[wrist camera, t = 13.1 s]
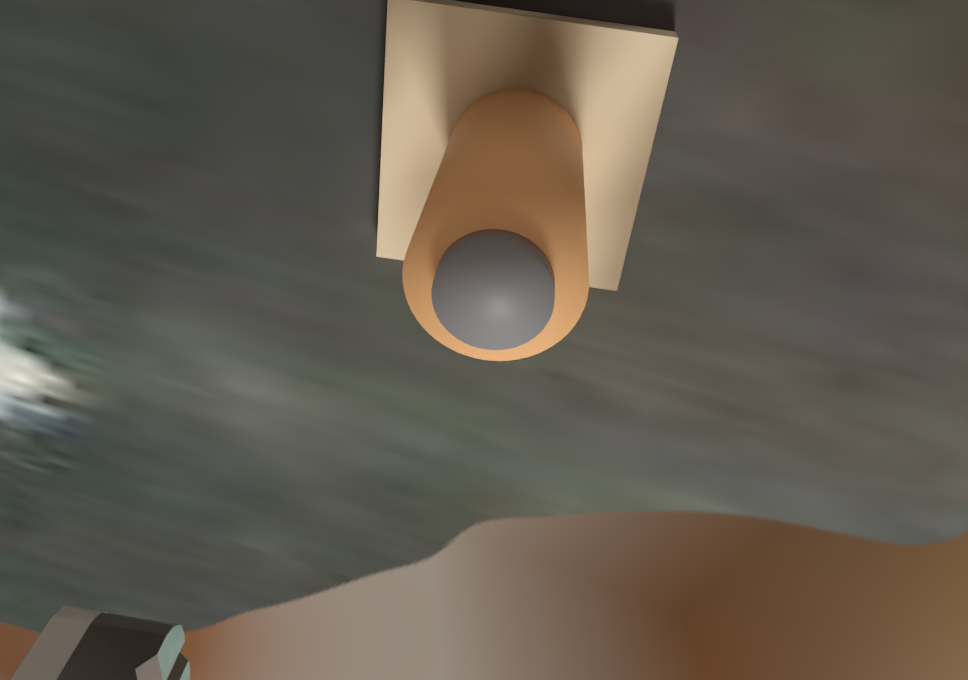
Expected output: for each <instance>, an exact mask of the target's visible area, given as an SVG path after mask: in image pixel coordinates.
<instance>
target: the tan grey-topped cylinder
mask: <svg viewBox="0 0 968 680" xmlns="http://www.w3.org/2000/svg"><path fill="white" fill-rule="evenodd" d="M403 286H404V292H405V295H406V299H407V302H408V304H409V306H410V309H411V311H412V313H413V314H414V316H415V317H416V319H417V320H418V322H419V323H420V324H421V325H422V327H423V328H424V329H425V330H426V331H427V332H428V333H429V334H430V335H431V336H432V337H433V338H435V339H436V340H437V341H439V342H440V343H441V344H443V345H445V346H446V347H448V348H450V349H452V350H454V351H456V352H458V353H461V354H463V355H466V356H470V357H473V358H477V359H482V360H491V361H509V360H517V359H522V358H526V357H530V356H532V355H535V354H538V353H540V352H542V351H544V350H546V349H548V348H550V347H552V346H553V345H555V344H556V343H557V342H559V341H560V340H561V339H562V338H563V337H565V336H566V335H567V334H568V333H569V332H570V330H571V329H572V328H573V327H574V326H575V324H576V323H577V321H578V320H579V318H580V316H581V314H582V312H583V310H584V307H585V304H586V301H587V297H588V291H589V266H588V247H587V227H586V208H585V188H584V168H583V149H582V142H581V137H580V134H579V131H578V129H577V126H576V124H575V122H574V121H573V119H572V117H571V116H570V115H569V113H568V112H567V111H566V110H565V109H564V108H563V107H562V106H561V105H560V104H559V103H558V102H556V101H555V100H553V99H552V98H550V97H548V96H546V95H544V94H542V93H540V92H537V91H534V90H529V89H523V88H507V89H502V90H497V91H494V92H491V93H489V94H487V95H485V96H483V97H481V98H479V99H478V100H476V101H475V102H474V103H473V104H471V105H470V106H469V107H468V108H467V109H466V110H465V111H464V113H463V114H462V115H461V117H460V118H459V120H458V121H457V123H456V126H455V128H454V130H453V132H452V135H451V138H450V140H449V143H448V145H447V148H446V151H445V153H444V156H443V158H442V161H441V163H440V166H439V169H438V171H437V174H436V176H435V179H434V181H433V184H432V187H431V189H430V192H429V194H428V197H427V200H426V202H425V205H424V207H423V210H422V212H421V215H420V218H419V220H418V223H417V225H416V228H415V230H414V233H413V236H412V238H411V241H410V243H409V246H408V249H407V252H406V255H405V258H404V264H403Z"/></svg>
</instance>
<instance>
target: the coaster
mask: <svg viewBox="0 0 968 680" xmlns="http://www.w3.org/2000/svg"><path fill="white" fill-rule="evenodd" d="M677 42H678V36H677V34H676V33H675V31H668V30H660V29H653V28H646V27H639V26H632V25H625V24H618V23H611V22H603V21H596V20H589V19H582V18H575V17H568V16H561V15H554V14H547V13H539V12H532V11H525V10H518V9H511V8H504V7H497V6H490V5H483V4H475V3H468V2H461V1H454V0H388V4H387V27H386V50H385V73H384V96H383V119H382V143H381V166H380V189H379V212H378V235H377V257H383V258H390V259H397V260H404V258H405V255H406V252H407V249H408V246H409V243H410V241H411V238H412V236H413V233H414V230H415V228H416V225H417V223H418V220H419V218H420V215H421V212H422V210H423V207H424V205H425V202H426V200H427V197H428V194H429V192H430V189H431V187H432V184H433V181H434V179H435V176H436V174H437V171H438V169H439V166H440V163H441V161H442V158H443V156H444V153H445V151H446V148H447V145H448V143H449V140H450V138H451V135H452V132H453V130H454V128H455V126H456V123H457V121H458V120H459V118H460V117H461V115H462V114H463V113H464V111H465V110H466V109H467V108H468V107H469V106H470V105H471V104H473V103H474V102H475V101H476V100H478V99H479V98H481V97H483V96H485V95H487V94H489V93H491V92H494V91H497V90H502V89H507V88H523V89H529V90H534V91H537V92H540V93H542V94H544V95H546V96H548V97H550V98H552V99H553V100H555V101H556V102H558V103H559V104H560V105H561V106H562V107H563V108H564V109H565V110H566V111H567V112H568V113H569V115H570V116H571V117H572V119H573V121H574V122H575V124H576V126H577V129H578V131H579V134H580V137H581V142H582V149H583V168H584V188H585V208H586V227H587V247H588V266H589V287H594V288H601V289H608V290H615V291H617V288H618V284H619V280H620V276H621V272H622V268H623V264H624V260H625V255H626V251H627V247H628V243H629V239H630V235H631V231H632V227H633V223H634V218H635V214H636V210H637V206H638V202H639V198H640V194H641V190H642V186H643V181H644V177H645V173H646V169H647V165H648V161H649V157H650V153H651V149H652V144H653V140H654V136H655V132H656V128H657V124H658V120H659V116H660V112H661V108H662V103H663V99H664V95H665V91H666V87H667V83H668V79H669V75H670V71H671V66H672V62H673V58H674V54H675V50H676V46H677Z"/></svg>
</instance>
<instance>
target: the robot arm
mask: <svg viewBox="0 0 968 680" xmlns="http://www.w3.org/2000/svg"><path fill="white" fill-rule="evenodd" d="M184 641H185V637H184V633H183V628H182V625H181V624H174V623H168V622H162V621H155V620H149V619H142V618H136V617H129V616H123V615H116V614H110V613H107V612H103V611H96V610H89V609H82V608H75V607H68V606H64V607H63V608H62V609H60V610H59V611H58V612H57V613H56V614H55V615H54V616H53V617H52V618H51V619H50V620H49V622H48V623H47V625H46V626H45V628H44V629H43V631H42V632H41V634H40V635H39V637H38V638H37V640H36V641H35V643H34V644H33V646H32V647H31V649H30V651H29V652H28V653H27V655H26V657H25V658H24V659H23V661H22V662H21V664H20V666H19V667H18V668H17V670H16V671H15V673H14V675H13V676H12V678H11V679H10V680H190V667H189V660H188V659H187V658H186V657H185V656H183V655H182V654H181V653H180V650H181V648H182V646H183V643H184Z"/></svg>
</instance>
